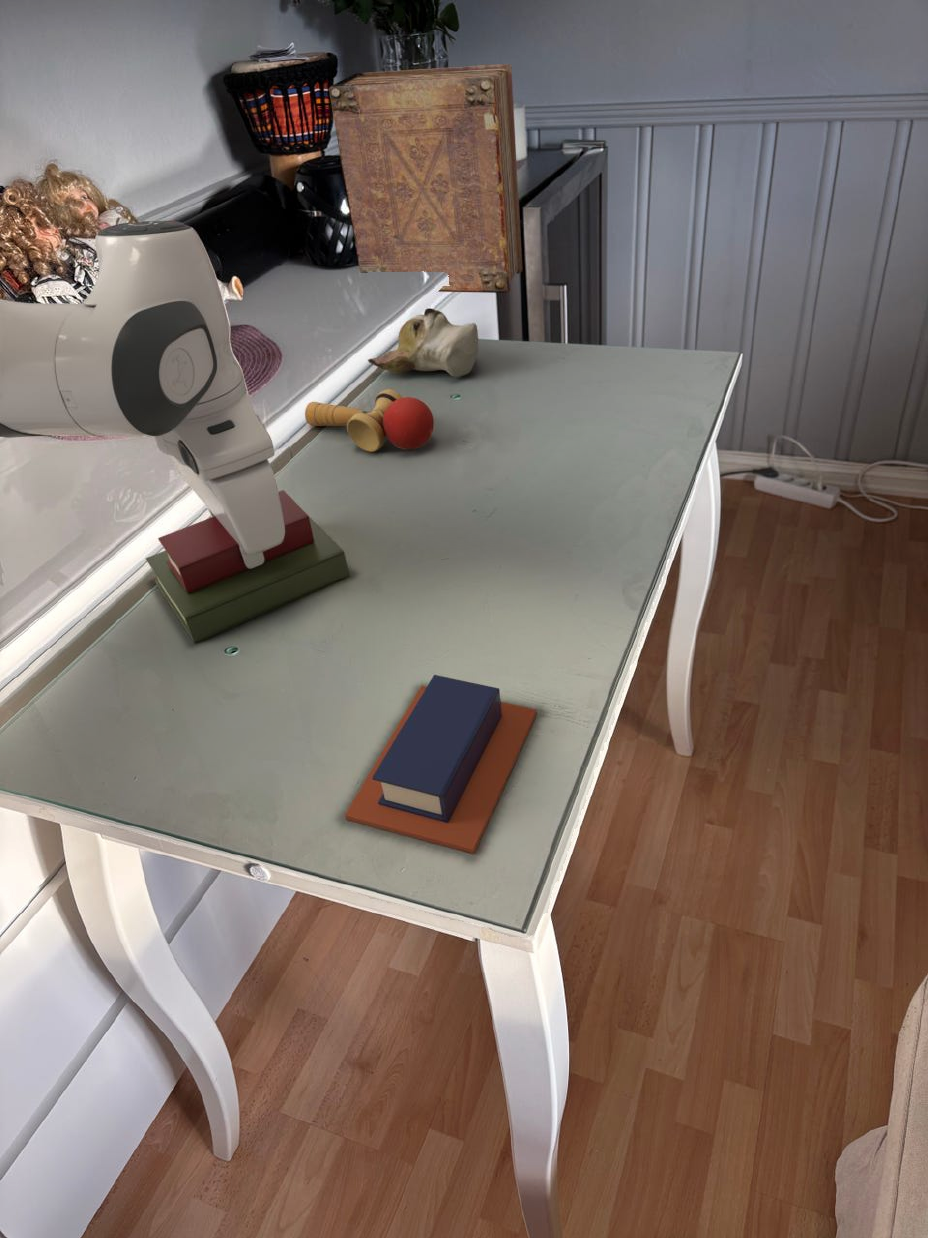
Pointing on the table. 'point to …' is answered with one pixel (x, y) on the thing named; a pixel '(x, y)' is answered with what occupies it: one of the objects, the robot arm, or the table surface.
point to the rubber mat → (475, 798)
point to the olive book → (252, 586)
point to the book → (432, 173)
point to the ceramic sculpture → (432, 346)
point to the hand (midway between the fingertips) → (240, 547)
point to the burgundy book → (226, 547)
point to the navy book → (439, 748)
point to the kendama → (379, 421)
